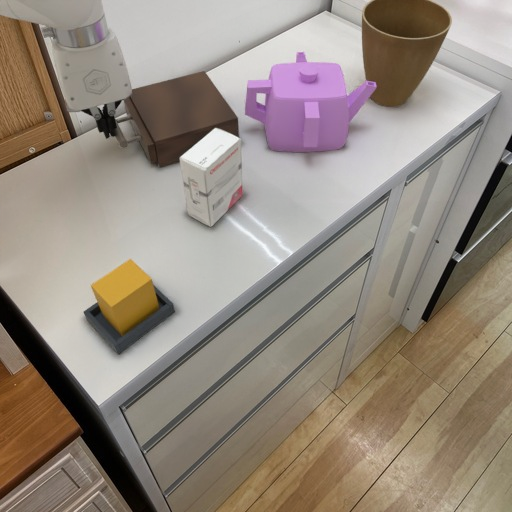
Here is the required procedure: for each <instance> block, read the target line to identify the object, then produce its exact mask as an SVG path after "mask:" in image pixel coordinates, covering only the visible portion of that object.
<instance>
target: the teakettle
mask: <svg viewBox="0 0 512 512" xmlns="http://www.w3.org/2000/svg"><path fill="white" fill-rule="evenodd" d="M376 87H377V86H376V82H371V81H366V80H365V81H364V82H363V83H362V84H361V85H359V86H358V87H357V88H356V89H354V90H353V91H352V92H351V93H349V94H348V91H347V85H346V81H345V76H344V72H343V69H342V66H341V64H339V63H336V62H325V61H324V62H323V61H319V62H317V61H308V60H307V57H306V52H305V51H296V54H295V62H284V63H277V64H273V65H272V66H271V68H270V72H269V76H268V79H250V80H247V84H246V93H245V95H246V96H245V105H244V115H245V116H247V117H249V118H250V119H253V120H255V121H258V122H260V123H262V124H264V129H265V136H266V141H267V144H268V146H269V148H270V150H272V151H275V152H276V151H277V152H287V153H316V152H318V153H319V152H326V151H327V152H328V151H336V150H340V149H342V148H343V147H344V146H345V144H346V142H347V139H348V136H349V126H350V123H351V121H352V120H353V119H354V117H355V116H356V115H357V114H358V113H359V111H360V110H361V109H362V108H363V106H364V105H365V103H366V102H367V101H368V100H369V98H370V96H371V94H372V93H373V92H374V90H375V89H376ZM257 94H263V95H264V94H265V97H264V104H263V103H260V102H258V101H257V100H258V99H257Z"/></svg>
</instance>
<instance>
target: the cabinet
mask: <svg viewBox="0 0 512 512" xmlns="http://www.w3.org/2000/svg"><path fill="white" fill-rule="evenodd" d="M132 91H133V96H132V97H130V99H131V101H132V103H133V105H134V107H135V108H136V110H137V112H138V114H139V116H140V118H141V120H142V122H143V124H144V125H145V127H146V129H147V131H148V133H149V135H150V137H151V139H152V141H153V142H154V145H155V150H156V156H157V162H156V164H157V165H158V167H159V168H164V167H167V166H170V165H173V164H177V163H180V157H181V156H182V155H183V154H185V153H186V152H187V151H188V150H189V149H191V148H192V147H193V146H194V145H195V144H197V143H198V142H199V141H200V140H201V139H203V138H204V137H205V136H206V135H207V134H209V133H210V132H211V131H212V130H213V129H215V128H218V129H221V130H223V131H226V132H228V133H230V134H232V135H234V136H236V137H239V138H240V132H239V117H238V115H237V114H236V113H235V111H234V110H233V108H232V107H231V105H230V104H229V103H228V102H227V100H226V99H225V98H224V96H223V94H221V92H220V91H219V89H218V88H217V87H216V85H215V84H214V82H213V80H212V78H210V76H209V75H208V74H207V72H206V71H205V70H202V71H198V72H194V73H191V74H187V75H183V76H179V77H175V78H171V79H166V80H162V81H159V82H155V83H152V84H148V85H144V86H139V87H135V88H132Z"/></svg>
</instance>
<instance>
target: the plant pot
mask: <svg viewBox="0 0 512 512" xmlns="http://www.w3.org/2000/svg"><path fill="white" fill-rule="evenodd" d="M361 11H362V12H361V48H362V49H361V51H362V63H363V68H364V69H363V70H364V76H365V81H371V82H376V86H377V87H376V89H375V90H374V92H373V93H372V94H371V96H370V97H369V98H370V99H371V100H372V101H373V102H374V103H375V104H377V105H379V106H382V107H388V108H395V107H399V106H402V105H404V104H405V103H407V102H408V100H409V99H410V98H411V96H412V95H413V94H414V92H415V91H416V90H417V88H418V87H419V85H420V84H421V83H422V81H423V80H424V78H425V76H426V75H427V73H428V72H429V70H430V68H431V66H432V65H433V63H434V61H435V60H436V58H437V56H438V54H439V52H440V50H441V48H442V46H443V44H444V41H445V39H446V38H447V35H448V33H449V31H450V28H451V26H452V23H453V18H452V15H451V13H450V12H449V10H447V8H445V7H444V6H442V5H441V4H439V3H437V2H436V1H434V0H370V1H368V2H367V3H365V5H364V6H363V7H362V10H361Z"/></svg>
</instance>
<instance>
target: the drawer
mask: <svg viewBox="0 0 512 512" xmlns="http://www.w3.org/2000/svg"><path fill="white" fill-rule="evenodd" d="M122 102H123V105H124V109H125V114H126V116H123V117H118V118H115V121H116V125H117V128H116V129H114V132H115V137H114V138H115V140H116V142H117V145H118V146H119V148H122V149H123V148H127V146H128V144H132V143H135V142H139V143H140V145H141V147H142V149H143V150H144V152H145V155H146V157H147V159H148V161H149V163H150V164H153V163H157V156H156V150H155V145H154V142H153V141H152V139H151V137H150V135H149V133H148V131H147V129H146V127H145V125H144V124H143V122H142V120H141V118H140V116H139V114H138V112H137V110H136V108H135V107H134V105H133V103H132V101H131V99H130V98H128V99H126V100H123V101H122ZM125 122H129V123H130V125H131V127H132V129H133V131H134V133H135V136H132V137H129V138H126V137H125V135H124V133H123V131H122V128H121V127H120V125H119V124H121V123H125Z"/></svg>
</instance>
